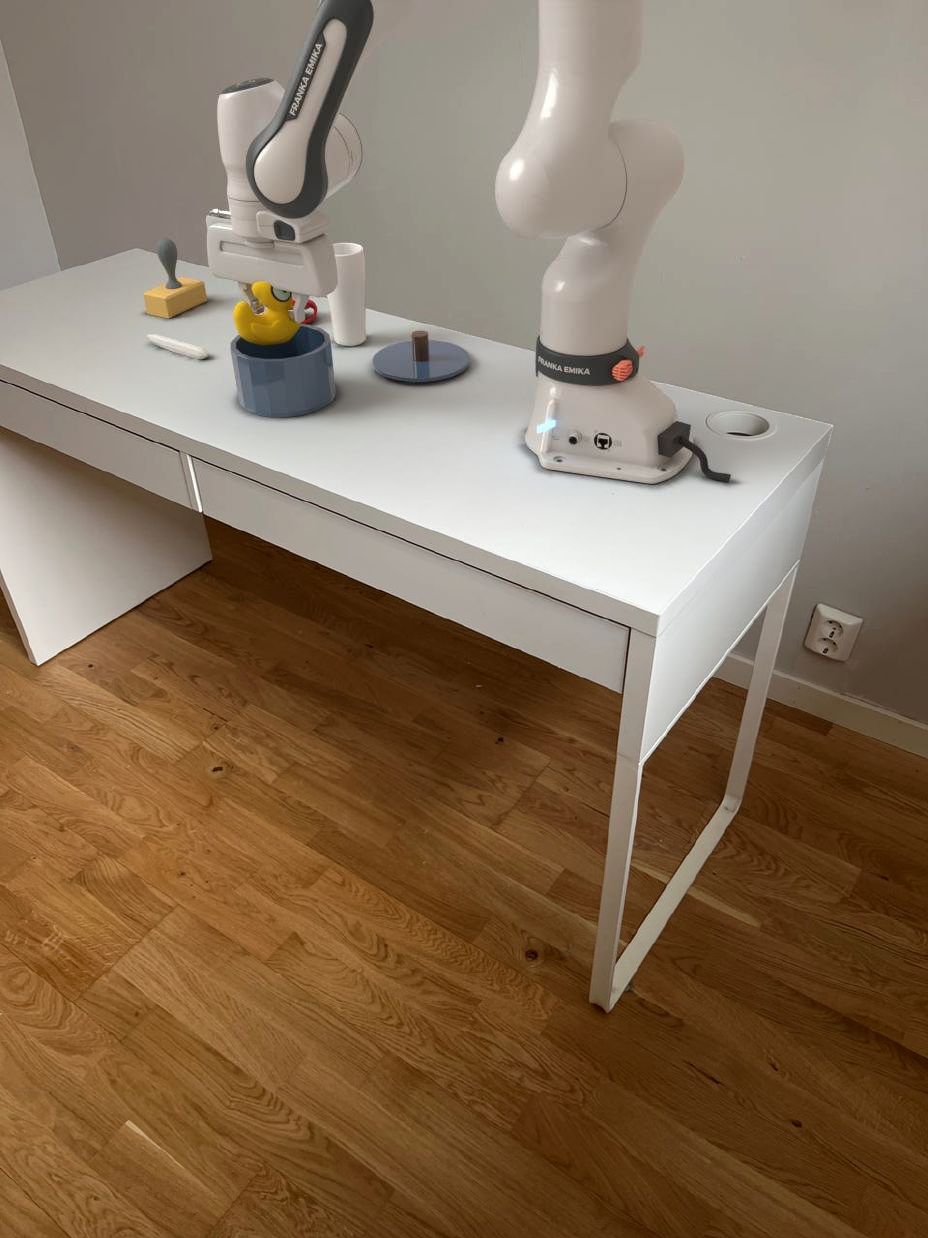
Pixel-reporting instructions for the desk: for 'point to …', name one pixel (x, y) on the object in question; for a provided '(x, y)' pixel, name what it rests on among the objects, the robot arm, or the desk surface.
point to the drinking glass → (349, 295)
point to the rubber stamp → (173, 287)
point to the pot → (285, 374)
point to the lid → (421, 359)
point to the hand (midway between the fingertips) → (277, 316)
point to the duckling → (266, 317)
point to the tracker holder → (309, 305)
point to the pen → (178, 346)
